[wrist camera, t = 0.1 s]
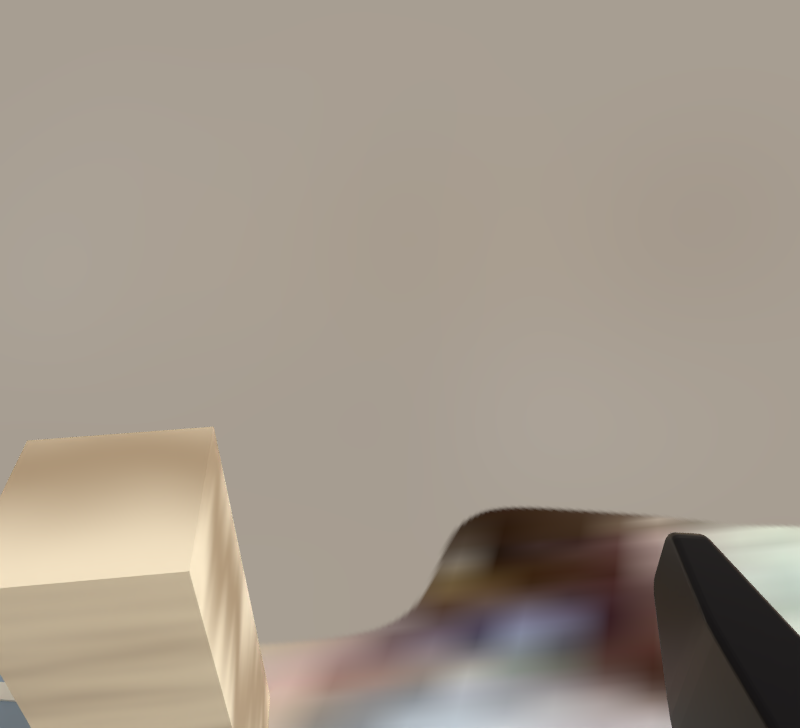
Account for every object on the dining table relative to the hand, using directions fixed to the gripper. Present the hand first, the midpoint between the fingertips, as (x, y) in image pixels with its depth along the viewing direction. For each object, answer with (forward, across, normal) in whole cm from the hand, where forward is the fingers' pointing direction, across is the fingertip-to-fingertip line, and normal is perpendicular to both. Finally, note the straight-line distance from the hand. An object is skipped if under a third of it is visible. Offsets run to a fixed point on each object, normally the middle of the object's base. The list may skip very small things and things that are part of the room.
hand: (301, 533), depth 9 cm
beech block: (+5, +6, +17) cm, 18 cm away
